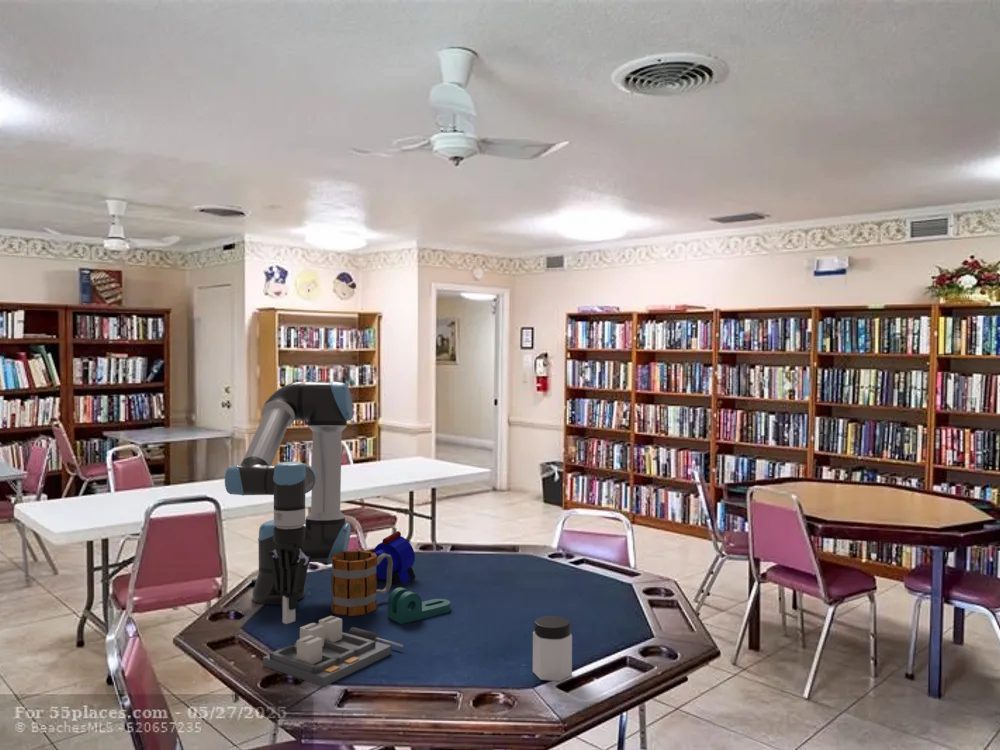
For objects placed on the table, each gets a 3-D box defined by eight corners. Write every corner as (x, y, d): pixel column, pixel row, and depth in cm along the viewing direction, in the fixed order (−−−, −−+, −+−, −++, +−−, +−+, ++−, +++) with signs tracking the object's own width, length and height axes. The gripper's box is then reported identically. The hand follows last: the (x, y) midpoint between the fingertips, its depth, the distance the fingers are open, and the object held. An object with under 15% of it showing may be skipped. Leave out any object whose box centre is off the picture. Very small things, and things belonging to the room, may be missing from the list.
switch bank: (262, 665, 174) (262, 652, 174) (332, 636, 192) (332, 624, 192) (323, 686, 163) (323, 672, 163) (391, 653, 181) (391, 640, 181)
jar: (549, 662, 176) (549, 612, 176) (577, 672, 171) (578, 620, 171) (525, 675, 169) (526, 622, 169) (554, 685, 164) (555, 631, 164)
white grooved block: (299, 648, 178) (299, 626, 178) (312, 642, 182) (312, 622, 182) (311, 651, 176) (311, 630, 176) (324, 646, 179) (324, 625, 179)
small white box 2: (318, 640, 183) (318, 619, 183) (330, 635, 187) (330, 615, 187) (330, 643, 181) (330, 622, 181) (342, 638, 184) (342, 618, 184)
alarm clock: (417, 577, 245) (417, 532, 245) (392, 586, 235) (392, 539, 235) (388, 571, 252) (388, 527, 252) (363, 580, 241) (363, 534, 241)
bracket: (400, 624, 202) (401, 595, 201) (387, 618, 207) (388, 589, 207) (454, 611, 213) (455, 583, 213) (441, 604, 218) (441, 578, 218)
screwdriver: (348, 637, 191) (348, 628, 191) (355, 635, 193) (355, 625, 193) (399, 652, 182) (399, 642, 182) (405, 649, 184) (405, 639, 184)
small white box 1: (296, 662, 170) (296, 639, 170) (310, 656, 174) (310, 634, 173) (308, 666, 168) (308, 643, 168) (322, 660, 171) (322, 637, 171)
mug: (345, 619, 205) (345, 565, 205) (321, 607, 215) (321, 555, 215) (404, 604, 218) (404, 553, 218) (379, 593, 228) (379, 544, 228)
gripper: (259, 525, 183) (258, 621, 183) (295, 531, 176) (295, 631, 176) (283, 520, 189) (283, 612, 190) (319, 526, 182) (319, 622, 182)
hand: (288, 621), depth 183 cm, fingers closed
